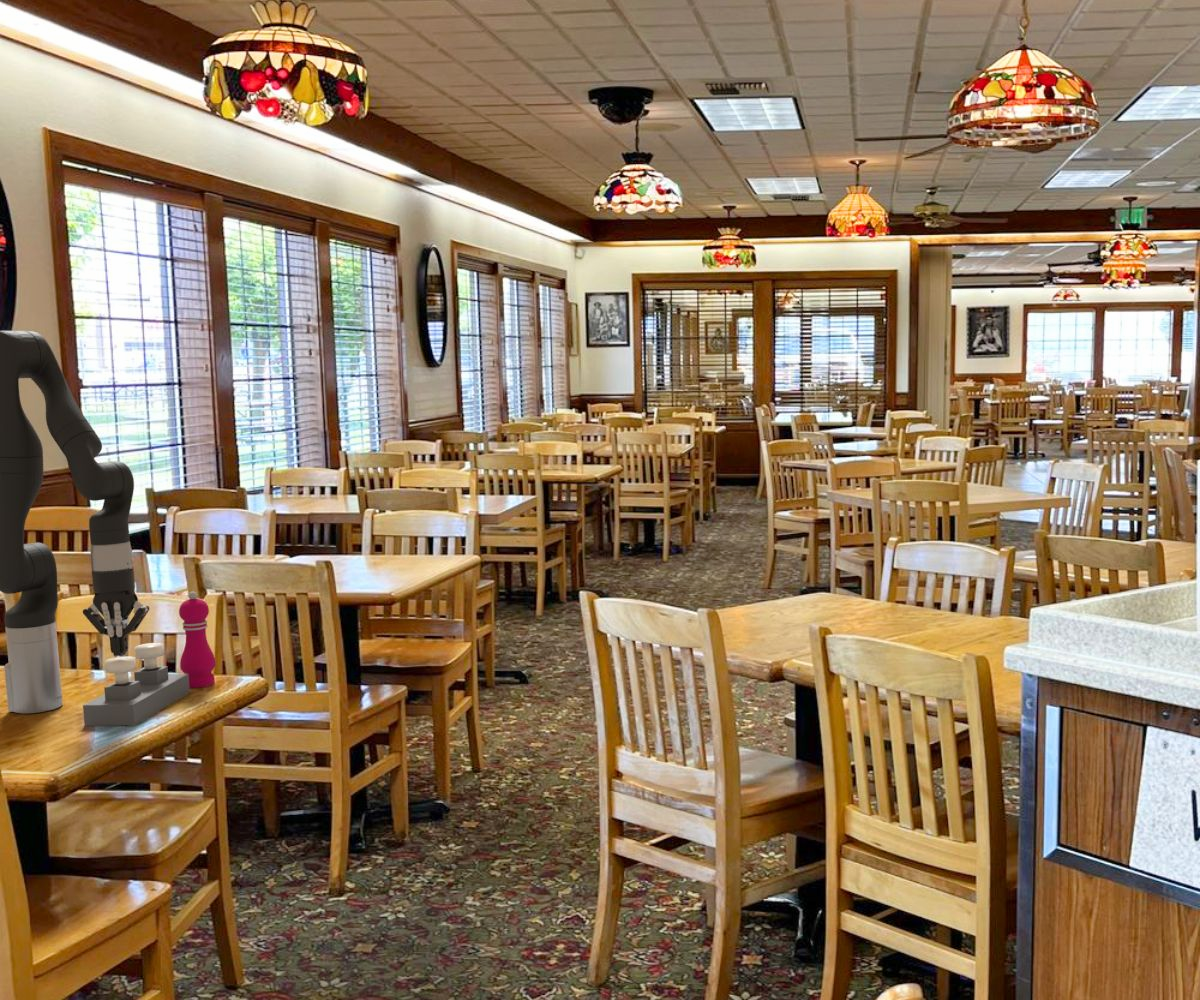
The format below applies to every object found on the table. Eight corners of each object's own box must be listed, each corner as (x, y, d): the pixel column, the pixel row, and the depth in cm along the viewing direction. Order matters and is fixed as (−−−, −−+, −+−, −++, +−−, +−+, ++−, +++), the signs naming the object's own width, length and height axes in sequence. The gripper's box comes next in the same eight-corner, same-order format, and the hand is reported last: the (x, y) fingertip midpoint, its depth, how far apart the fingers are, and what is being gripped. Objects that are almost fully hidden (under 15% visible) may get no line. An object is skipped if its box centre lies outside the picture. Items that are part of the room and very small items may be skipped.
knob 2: (131, 671, 257) (129, 649, 256) (144, 664, 262) (142, 643, 262) (157, 670, 256) (155, 648, 255) (170, 664, 261) (168, 642, 261)
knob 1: (101, 686, 245) (99, 663, 244) (115, 679, 250) (113, 656, 250) (128, 686, 244) (127, 663, 244) (142, 678, 250) (140, 656, 249)
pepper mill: (206, 688, 268) (199, 594, 266) (175, 688, 269) (167, 594, 267) (223, 680, 275) (216, 588, 273) (192, 679, 276) (185, 588, 274)
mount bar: (84, 725, 243) (81, 692, 242) (143, 693, 266) (141, 662, 266) (134, 725, 241) (131, 691, 241) (189, 692, 265) (187, 661, 264)
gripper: (69, 570, 242) (77, 660, 244) (135, 568, 240) (143, 659, 242) (89, 564, 249) (97, 651, 251) (154, 562, 248) (161, 650, 249)
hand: (120, 655), depth 247 cm, fingers closed
